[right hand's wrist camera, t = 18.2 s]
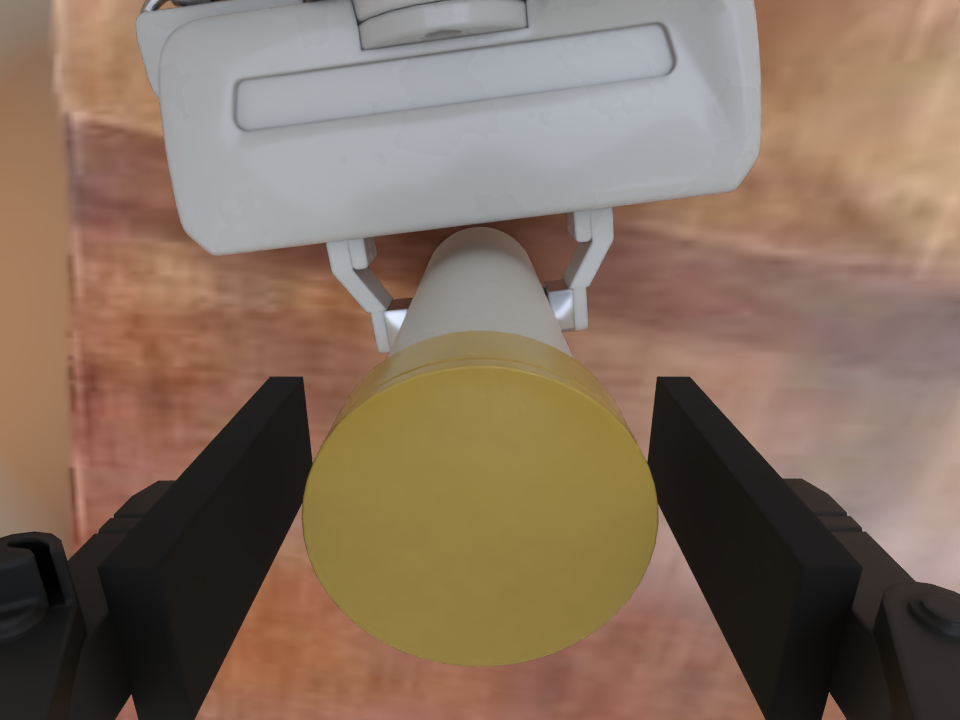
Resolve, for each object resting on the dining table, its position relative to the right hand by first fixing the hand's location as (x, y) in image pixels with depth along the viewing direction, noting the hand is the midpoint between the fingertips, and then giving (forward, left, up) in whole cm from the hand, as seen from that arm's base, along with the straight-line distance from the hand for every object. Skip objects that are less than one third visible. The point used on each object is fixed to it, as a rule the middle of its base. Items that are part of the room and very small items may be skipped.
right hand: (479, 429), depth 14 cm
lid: (0, 0, +4) cm, 4 cm away
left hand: (-1, 0, -10) cm, 10 cm away
